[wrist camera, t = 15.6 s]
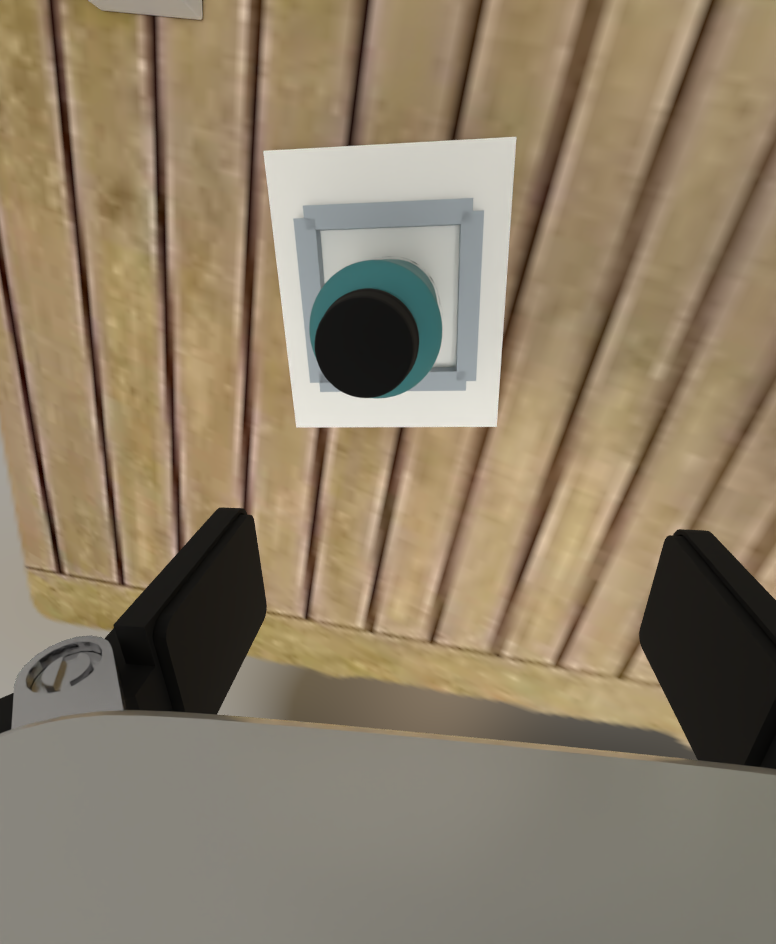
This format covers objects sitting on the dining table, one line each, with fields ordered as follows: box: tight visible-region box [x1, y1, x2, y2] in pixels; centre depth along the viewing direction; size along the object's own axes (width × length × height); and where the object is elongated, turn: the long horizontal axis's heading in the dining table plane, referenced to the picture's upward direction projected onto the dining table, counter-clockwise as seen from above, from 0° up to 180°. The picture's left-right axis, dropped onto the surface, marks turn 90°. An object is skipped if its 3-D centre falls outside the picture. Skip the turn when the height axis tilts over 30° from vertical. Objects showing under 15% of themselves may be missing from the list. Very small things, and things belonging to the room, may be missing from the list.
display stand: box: [263, 137, 516, 427], centre depth 36 cm, size 17×20×4 cm
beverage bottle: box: [309, 256, 443, 399], centre depth 27 cm, size 6×7×20 cm
